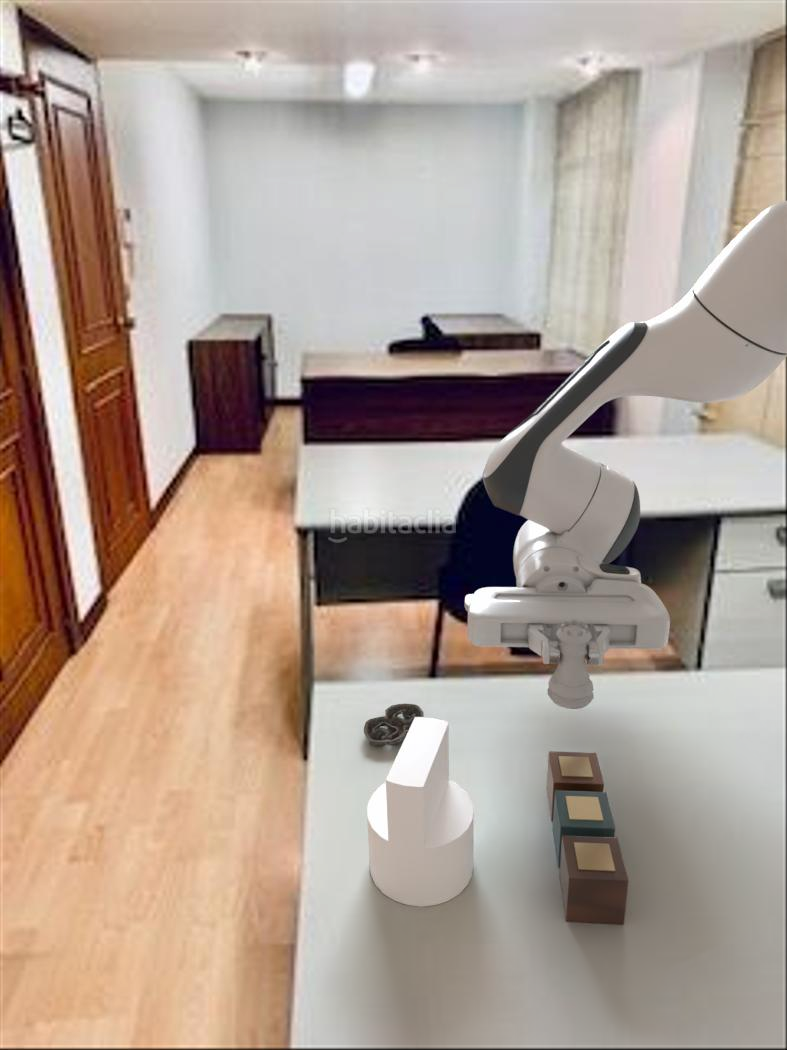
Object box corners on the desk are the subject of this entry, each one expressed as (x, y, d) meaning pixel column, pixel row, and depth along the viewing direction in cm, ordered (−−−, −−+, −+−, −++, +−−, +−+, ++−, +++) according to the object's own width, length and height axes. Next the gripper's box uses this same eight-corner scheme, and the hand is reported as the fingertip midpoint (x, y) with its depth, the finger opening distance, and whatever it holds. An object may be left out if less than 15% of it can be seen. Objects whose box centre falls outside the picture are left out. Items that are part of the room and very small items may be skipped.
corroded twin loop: (434, 721, 85) (434, 713, 85) (387, 756, 80) (386, 747, 79) (400, 704, 88) (400, 697, 88) (353, 737, 83) (352, 729, 82)
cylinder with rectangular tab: (460, 917, 61) (461, 796, 56) (355, 893, 63) (347, 775, 59) (482, 837, 69) (483, 725, 65) (387, 818, 71) (383, 710, 67)
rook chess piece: (537, 691, 76) (541, 620, 73) (575, 681, 77) (579, 610, 74) (564, 715, 72) (568, 641, 69) (603, 704, 73) (609, 630, 70)
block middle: (602, 831, 69) (606, 790, 67) (611, 870, 65) (615, 827, 63) (552, 829, 69) (554, 788, 68) (558, 867, 65) (560, 825, 64)
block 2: (613, 879, 64) (617, 836, 62) (624, 924, 60) (628, 879, 58) (559, 877, 64) (562, 834, 63) (565, 921, 60) (568, 877, 58)
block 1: (593, 790, 74) (596, 751, 72) (600, 823, 70) (604, 783, 68) (546, 788, 74) (548, 750, 73) (551, 821, 70) (553, 781, 69)
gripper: (464, 566, 85) (464, 627, 72) (653, 568, 83) (687, 630, 70) (464, 617, 87) (464, 684, 74) (647, 620, 85) (680, 689, 72)
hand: (574, 658), depth 72 cm, fingers closed on rook chess piece, 3 cm apart
